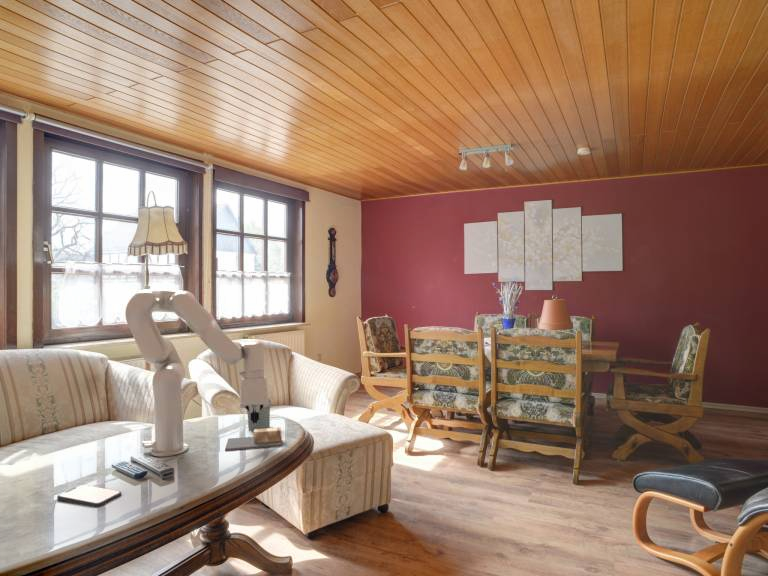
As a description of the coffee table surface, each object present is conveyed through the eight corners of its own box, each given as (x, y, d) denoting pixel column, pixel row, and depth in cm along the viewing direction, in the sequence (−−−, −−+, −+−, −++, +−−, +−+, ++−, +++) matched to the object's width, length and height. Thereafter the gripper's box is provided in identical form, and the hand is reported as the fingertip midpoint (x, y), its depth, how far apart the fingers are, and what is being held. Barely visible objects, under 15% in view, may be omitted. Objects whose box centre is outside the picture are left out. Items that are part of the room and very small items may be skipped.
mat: (225, 450, 182) (225, 448, 182) (228, 440, 194) (228, 438, 193) (281, 446, 186) (281, 444, 186) (280, 436, 198) (280, 434, 198)
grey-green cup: (253, 433, 202) (253, 404, 202) (242, 428, 210) (241, 399, 210) (275, 428, 209) (275, 399, 209) (263, 423, 217) (263, 395, 216)
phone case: (123, 496, 146) (82, 488, 151) (123, 491, 146) (82, 483, 151) (97, 510, 137) (54, 501, 142) (97, 504, 137) (54, 496, 142)
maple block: (253, 432, 188) (280, 430, 190) (254, 429, 192) (280, 427, 194) (253, 443, 188) (280, 440, 190) (254, 439, 192) (280, 437, 194)
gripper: (232, 377, 184) (233, 426, 184) (273, 374, 187) (274, 423, 188) (234, 373, 191) (235, 421, 192) (273, 371, 195) (275, 418, 195)
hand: (254, 422), depth 190 cm, fingers closed
